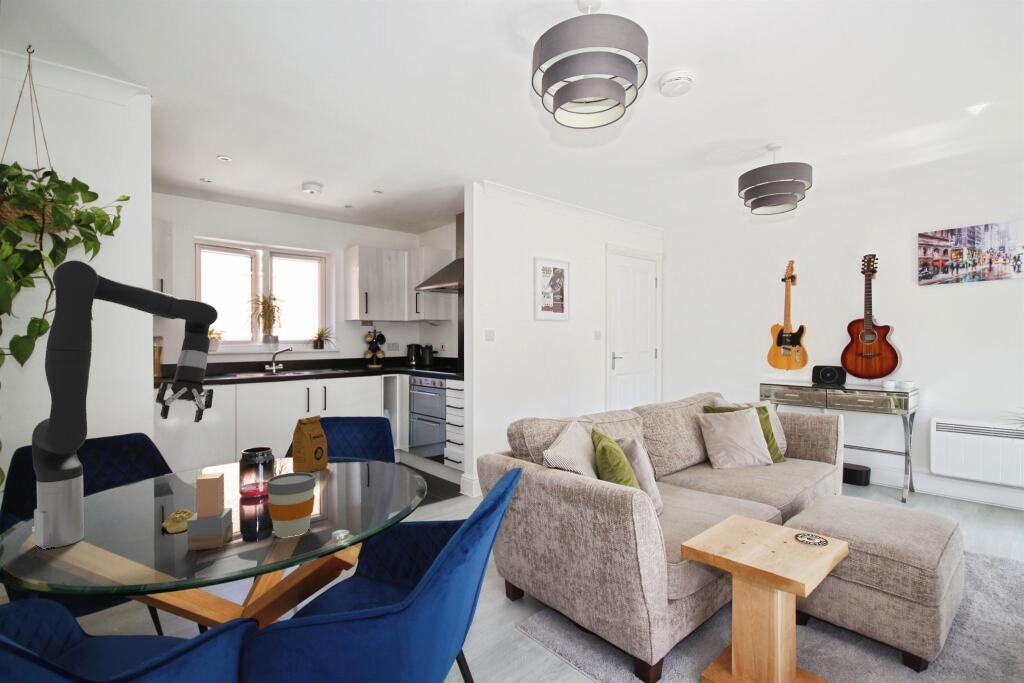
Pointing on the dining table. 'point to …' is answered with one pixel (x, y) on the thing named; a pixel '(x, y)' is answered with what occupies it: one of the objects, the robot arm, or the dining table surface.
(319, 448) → the coffee package
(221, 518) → the grey flat square block
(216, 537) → the tower base
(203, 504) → the terracotta block
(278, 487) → the reusable coffee cup
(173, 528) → the golden lumpy piece
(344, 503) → the dining table surface
